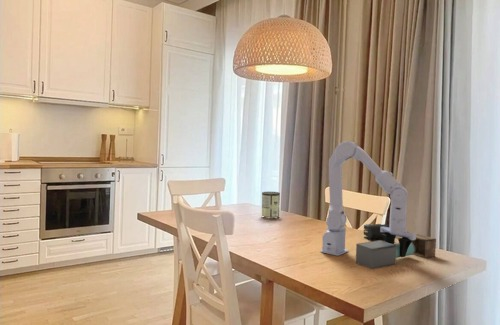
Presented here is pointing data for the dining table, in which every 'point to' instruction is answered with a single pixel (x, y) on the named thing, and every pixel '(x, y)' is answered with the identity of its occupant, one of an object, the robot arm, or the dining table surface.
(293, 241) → the dining table surface
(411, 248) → the tube
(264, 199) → the coffee can
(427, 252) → the socket block
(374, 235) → the end cap
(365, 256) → the grey rectangular box
